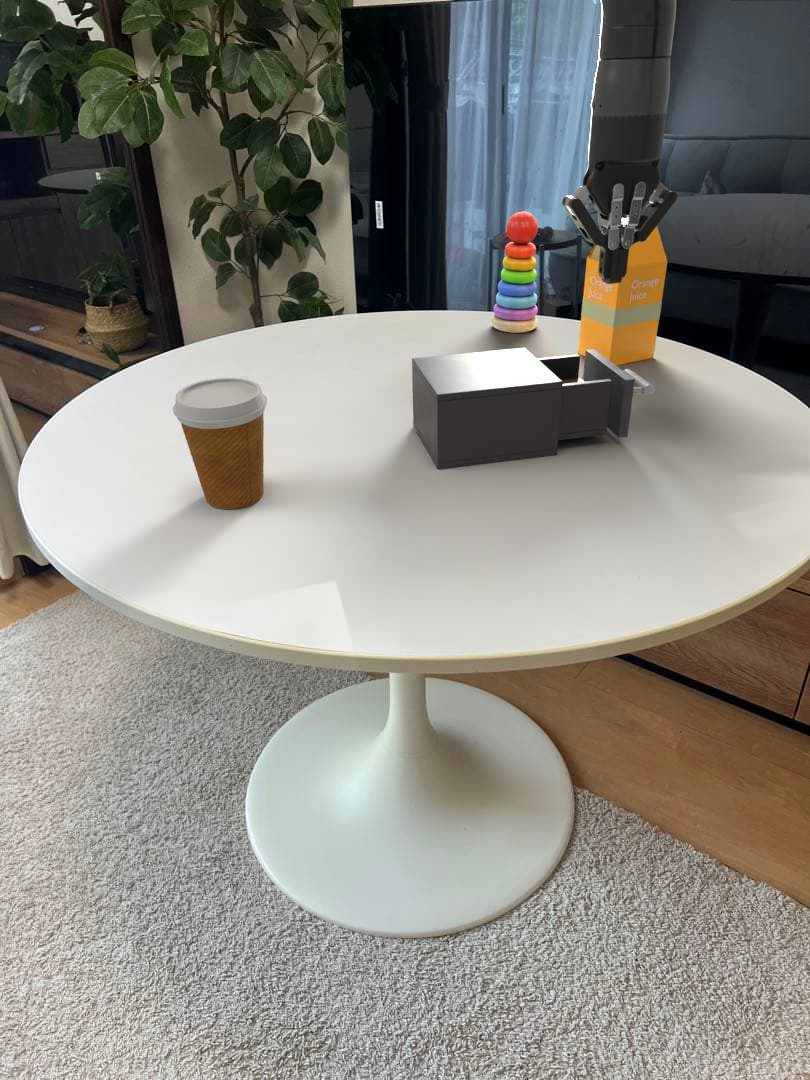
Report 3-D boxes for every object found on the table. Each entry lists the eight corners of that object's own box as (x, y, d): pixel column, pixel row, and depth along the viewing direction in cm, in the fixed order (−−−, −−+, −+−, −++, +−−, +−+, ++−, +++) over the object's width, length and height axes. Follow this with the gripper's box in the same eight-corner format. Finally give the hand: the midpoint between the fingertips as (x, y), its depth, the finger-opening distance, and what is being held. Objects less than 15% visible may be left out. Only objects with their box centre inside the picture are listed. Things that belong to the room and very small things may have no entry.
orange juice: (654, 357, 121) (674, 219, 111) (608, 367, 118) (625, 226, 108) (620, 343, 127) (637, 211, 117) (576, 353, 124) (589, 218, 114)
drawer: (618, 399, 105) (624, 345, 101) (659, 433, 96) (668, 375, 92) (491, 413, 102) (493, 358, 98) (520, 449, 93) (524, 391, 89)
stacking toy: (498, 335, 133) (502, 217, 123) (486, 322, 139) (490, 209, 130) (543, 332, 134) (551, 214, 124) (529, 319, 140) (536, 206, 131)
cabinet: (521, 414, 104) (524, 347, 99) (556, 454, 93) (562, 381, 88) (413, 426, 101) (411, 358, 97) (437, 469, 91) (437, 394, 86)
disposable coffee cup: (186, 484, 89) (166, 383, 83) (269, 470, 92) (256, 371, 85) (195, 524, 81) (175, 416, 75) (286, 507, 84) (273, 401, 78)
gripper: (584, 115, 77) (570, 295, 86) (706, 108, 79) (681, 284, 88) (554, 111, 83) (544, 279, 92) (669, 105, 85) (648, 270, 94)
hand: (611, 281), depth 90 cm, fingers closed
